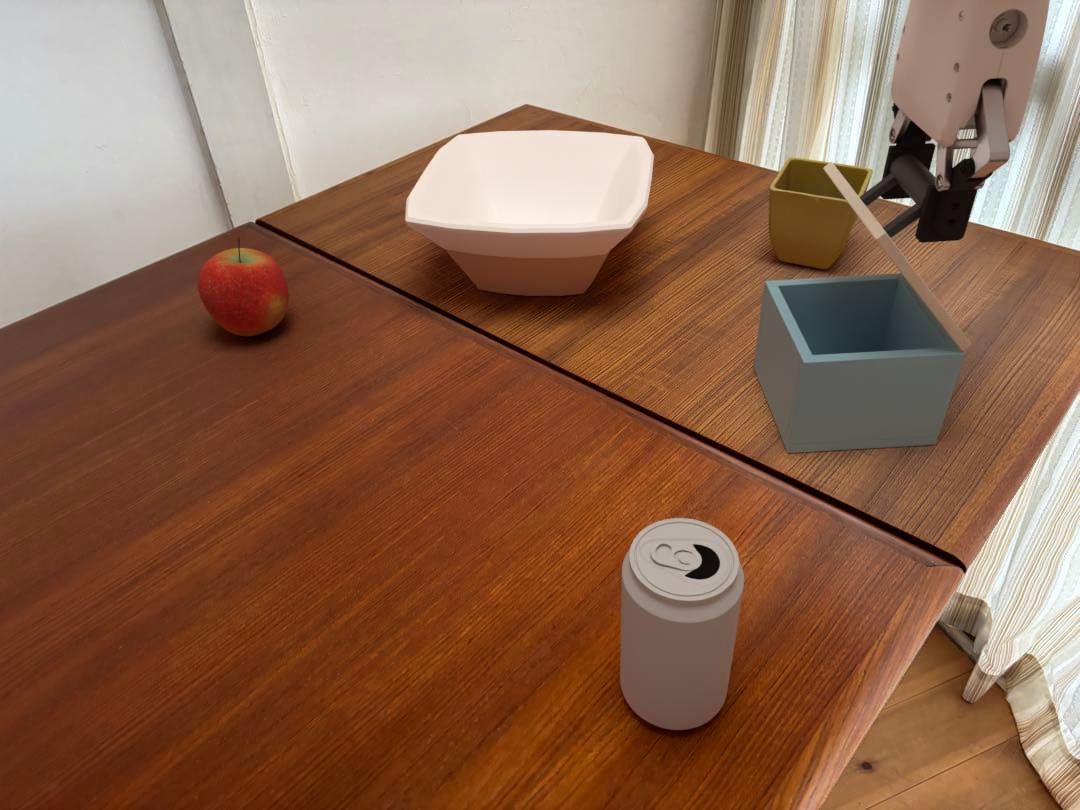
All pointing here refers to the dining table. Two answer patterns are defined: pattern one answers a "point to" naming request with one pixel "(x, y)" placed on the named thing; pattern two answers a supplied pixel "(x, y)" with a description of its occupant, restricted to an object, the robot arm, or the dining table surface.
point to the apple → (243, 291)
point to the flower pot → (812, 211)
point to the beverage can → (679, 622)
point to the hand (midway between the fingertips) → (919, 215)
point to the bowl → (532, 205)
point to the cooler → (853, 363)
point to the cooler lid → (899, 226)
